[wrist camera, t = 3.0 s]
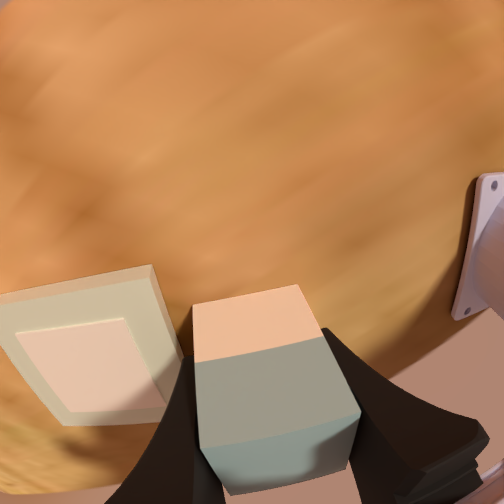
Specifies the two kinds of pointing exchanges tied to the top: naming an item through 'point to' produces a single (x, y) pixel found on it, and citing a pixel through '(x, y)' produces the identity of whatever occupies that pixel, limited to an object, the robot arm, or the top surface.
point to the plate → (95, 347)
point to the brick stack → (269, 392)
